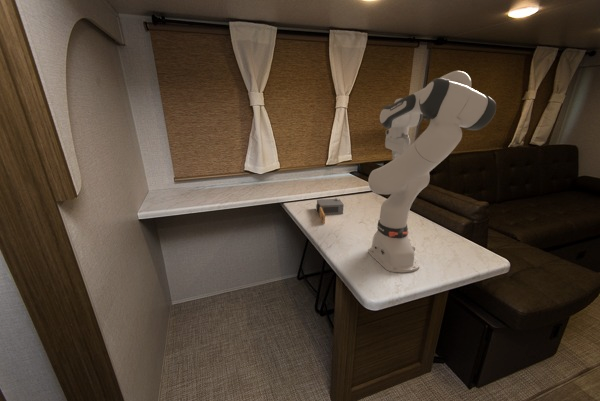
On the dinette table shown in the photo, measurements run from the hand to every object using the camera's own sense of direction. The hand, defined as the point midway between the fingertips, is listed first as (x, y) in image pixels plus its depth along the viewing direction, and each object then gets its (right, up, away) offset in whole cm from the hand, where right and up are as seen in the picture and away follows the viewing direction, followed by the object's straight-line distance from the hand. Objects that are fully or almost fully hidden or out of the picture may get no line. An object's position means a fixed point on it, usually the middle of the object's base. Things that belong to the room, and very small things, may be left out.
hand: (395, 159), depth 134 cm
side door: (-38, -32, +11) cm, 51 cm away
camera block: (-32, -28, +23) cm, 48 cm away
